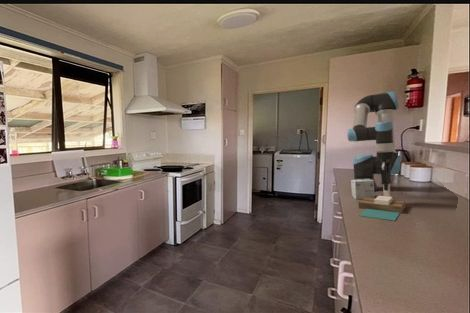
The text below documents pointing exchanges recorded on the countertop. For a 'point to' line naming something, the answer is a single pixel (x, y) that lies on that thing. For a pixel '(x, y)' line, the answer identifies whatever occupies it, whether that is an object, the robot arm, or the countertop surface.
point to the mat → (380, 214)
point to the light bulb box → (362, 188)
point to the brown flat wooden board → (392, 207)
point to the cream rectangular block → (383, 200)
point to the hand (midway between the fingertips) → (386, 196)
